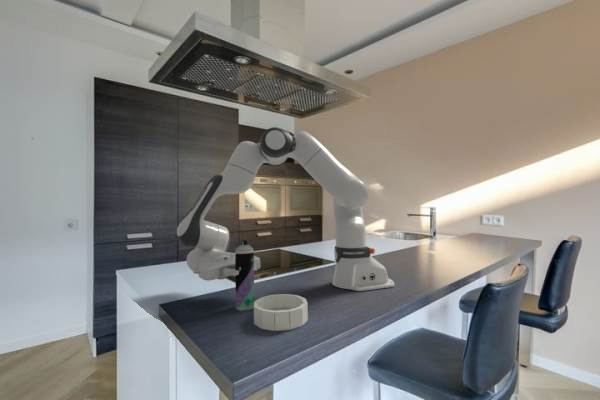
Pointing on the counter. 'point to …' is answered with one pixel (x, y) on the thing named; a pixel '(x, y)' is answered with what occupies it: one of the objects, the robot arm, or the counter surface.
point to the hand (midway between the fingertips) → (246, 270)
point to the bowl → (280, 312)
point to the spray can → (244, 276)
